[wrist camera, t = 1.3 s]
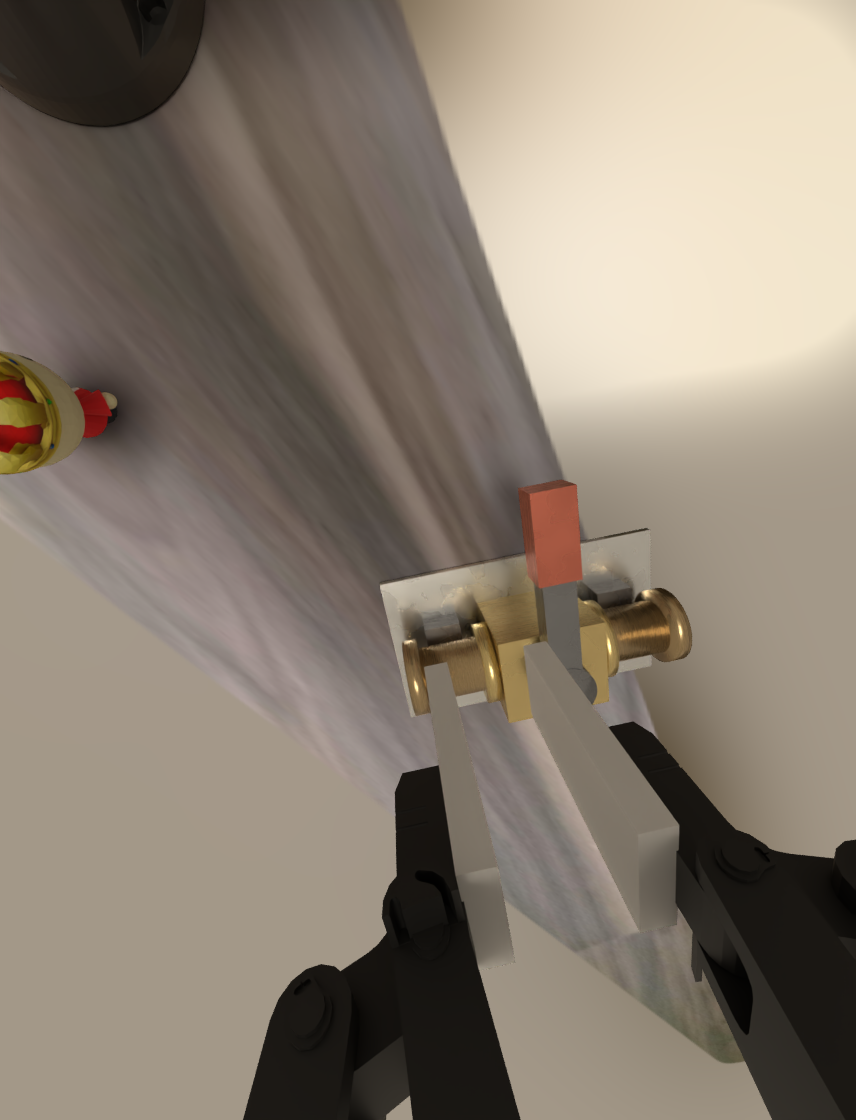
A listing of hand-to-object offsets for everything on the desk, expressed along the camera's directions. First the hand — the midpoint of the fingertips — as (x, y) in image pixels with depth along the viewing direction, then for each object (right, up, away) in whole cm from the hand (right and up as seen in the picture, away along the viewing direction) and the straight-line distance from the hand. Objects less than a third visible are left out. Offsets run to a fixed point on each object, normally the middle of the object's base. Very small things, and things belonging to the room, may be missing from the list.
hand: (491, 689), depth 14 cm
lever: (+6, +1, +15) cm, 17 cm away
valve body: (+7, -2, +25) cm, 26 cm away
